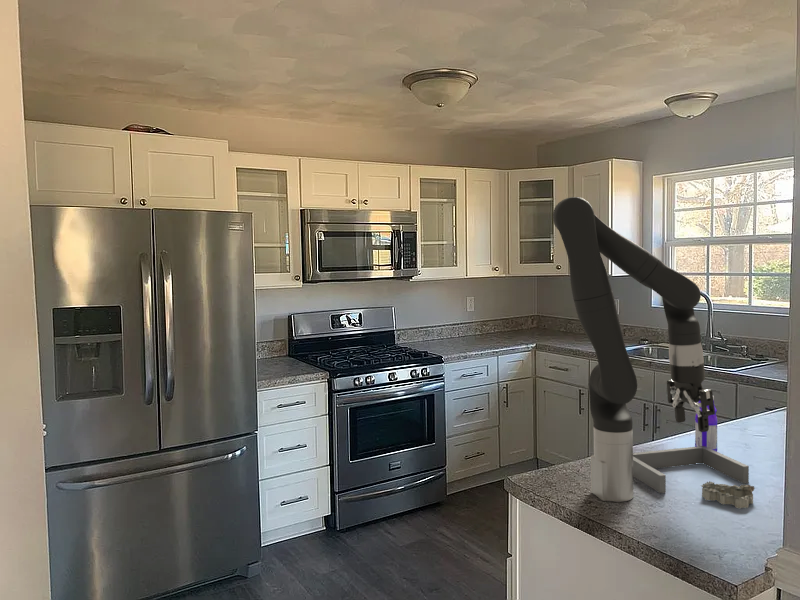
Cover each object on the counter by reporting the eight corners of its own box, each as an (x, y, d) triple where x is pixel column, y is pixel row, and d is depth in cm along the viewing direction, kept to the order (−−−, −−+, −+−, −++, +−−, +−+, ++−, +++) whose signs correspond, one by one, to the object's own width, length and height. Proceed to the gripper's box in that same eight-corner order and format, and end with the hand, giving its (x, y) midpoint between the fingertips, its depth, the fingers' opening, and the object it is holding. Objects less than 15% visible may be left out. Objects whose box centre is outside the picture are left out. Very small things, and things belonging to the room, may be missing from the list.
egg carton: (757, 502, 148) (757, 486, 148) (744, 512, 143) (744, 495, 143) (711, 490, 156) (711, 475, 156) (697, 499, 151) (697, 482, 151)
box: (660, 493, 155) (660, 475, 155) (623, 469, 172) (623, 454, 172) (748, 483, 159) (748, 466, 159) (703, 461, 177) (703, 445, 176)
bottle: (720, 456, 180) (720, 397, 179) (699, 456, 181) (699, 397, 180) (712, 449, 187) (712, 392, 186) (692, 448, 188) (692, 392, 187)
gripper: (654, 358, 155) (660, 421, 157) (691, 368, 141) (697, 437, 143) (681, 354, 157) (686, 416, 158) (720, 363, 143) (726, 431, 144)
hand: (691, 426), depth 150 cm, fingers open, 8 cm apart
